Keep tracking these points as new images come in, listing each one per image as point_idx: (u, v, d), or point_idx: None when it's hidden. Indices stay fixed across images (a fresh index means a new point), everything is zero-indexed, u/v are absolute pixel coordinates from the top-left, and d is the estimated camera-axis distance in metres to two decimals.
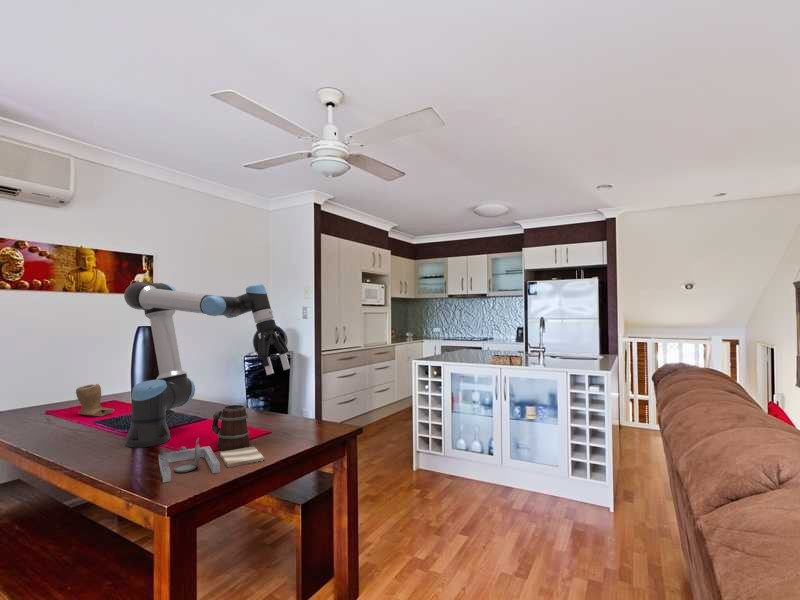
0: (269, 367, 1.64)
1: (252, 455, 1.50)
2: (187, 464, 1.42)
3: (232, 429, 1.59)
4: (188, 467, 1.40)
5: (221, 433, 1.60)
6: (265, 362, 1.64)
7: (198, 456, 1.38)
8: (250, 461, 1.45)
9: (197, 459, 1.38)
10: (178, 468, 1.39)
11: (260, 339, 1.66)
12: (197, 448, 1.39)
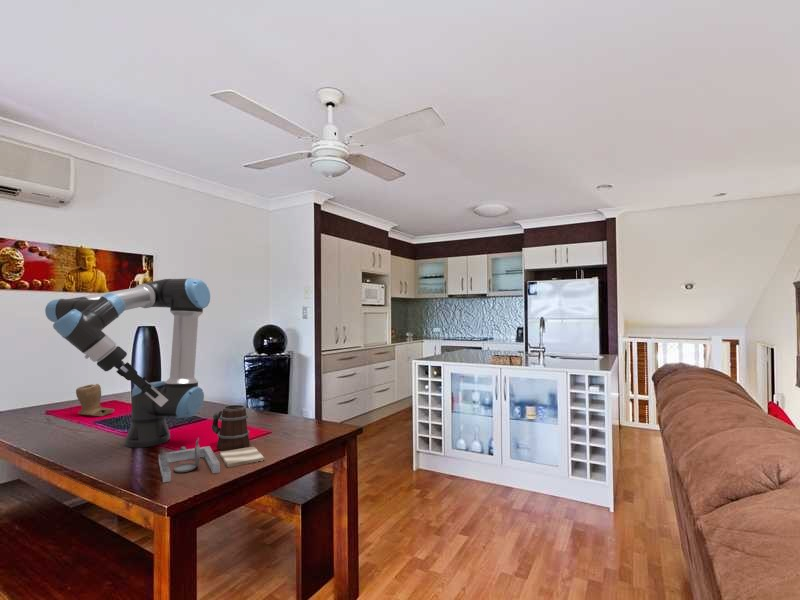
0: None
1: (252, 455, 1.50)
2: (187, 464, 1.42)
3: (233, 429, 1.59)
4: (188, 467, 1.40)
5: (221, 433, 1.60)
6: None
7: (198, 456, 1.38)
8: (250, 461, 1.45)
9: (197, 459, 1.38)
10: (178, 468, 1.39)
11: None
12: (197, 448, 1.39)
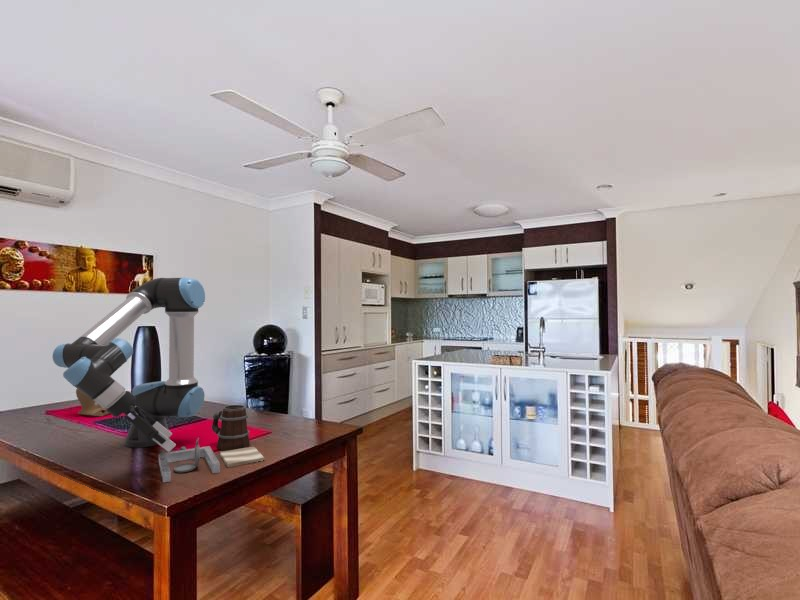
0: None
1: (252, 455, 1.50)
2: (187, 464, 1.42)
3: (233, 429, 1.59)
4: (188, 467, 1.40)
5: (221, 433, 1.60)
6: None
7: (198, 456, 1.38)
8: (250, 461, 1.45)
9: (197, 459, 1.38)
10: (178, 468, 1.39)
11: None
12: (197, 448, 1.39)
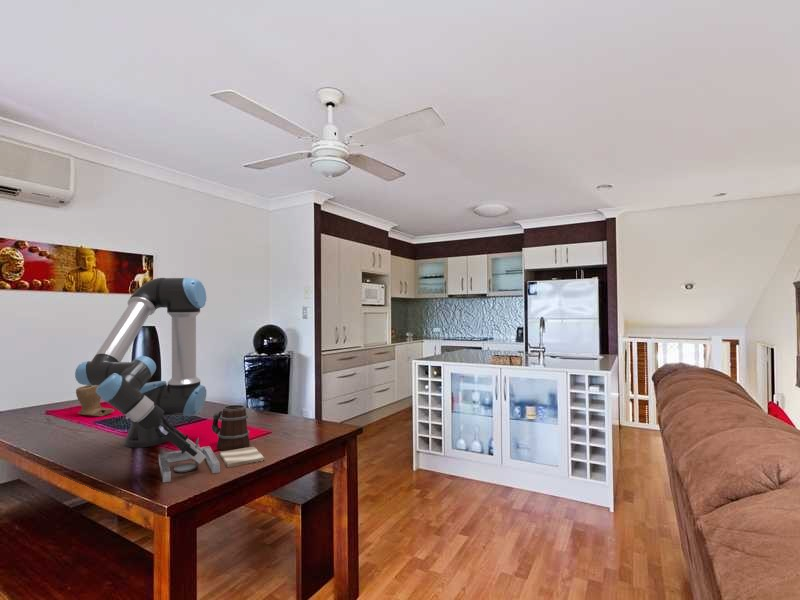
0: None
1: (252, 455, 1.50)
2: (187, 464, 1.42)
3: (233, 429, 1.59)
4: (188, 467, 1.40)
5: (221, 433, 1.60)
6: None
7: None
8: (250, 461, 1.45)
9: None
10: (178, 468, 1.39)
11: None
12: (197, 448, 1.39)
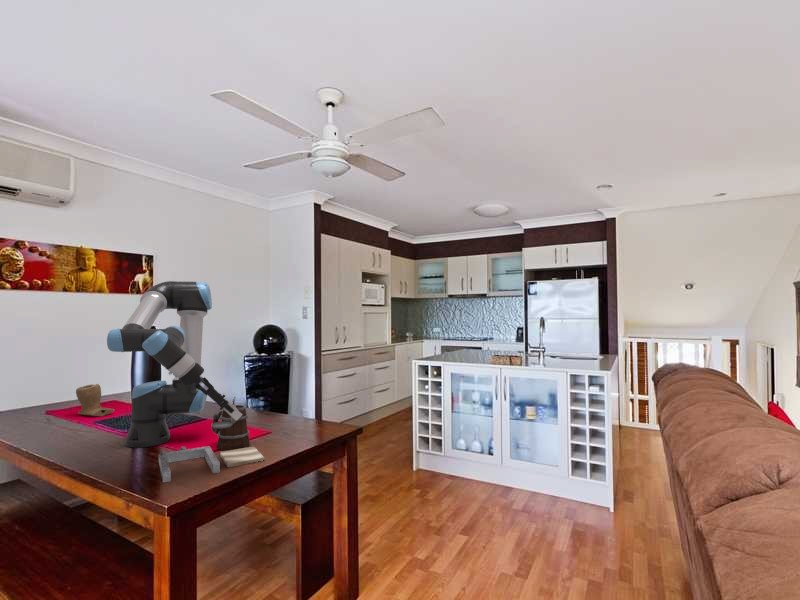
0: None
1: (252, 455, 1.50)
2: (223, 422, 1.47)
3: (233, 429, 1.59)
4: (224, 425, 1.46)
5: (221, 433, 1.60)
6: None
7: None
8: (250, 461, 1.45)
9: None
10: (215, 425, 1.45)
11: None
12: (234, 406, 1.45)
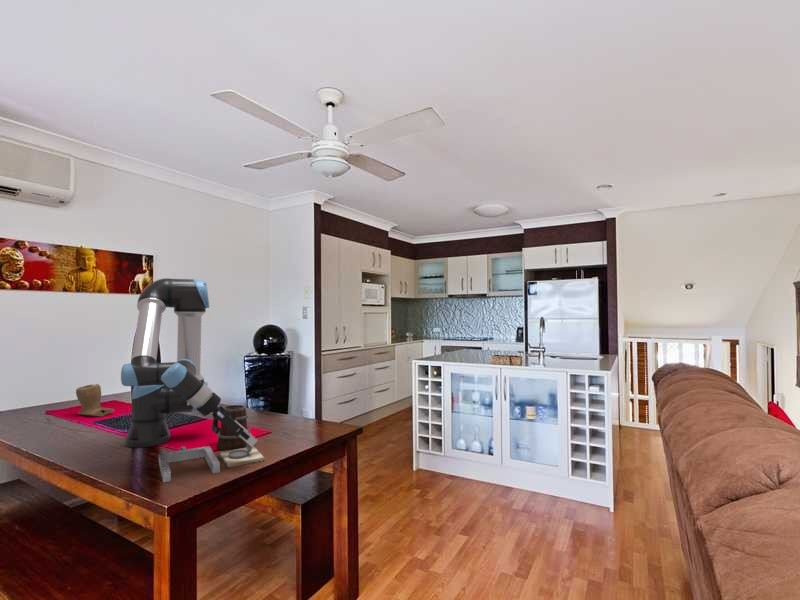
0: None
1: (252, 455, 1.50)
2: (239, 451, 1.52)
3: None
4: (241, 453, 1.50)
5: (221, 433, 1.60)
6: None
7: None
8: (250, 461, 1.45)
9: (250, 446, 1.48)
10: (232, 454, 1.49)
11: None
12: None
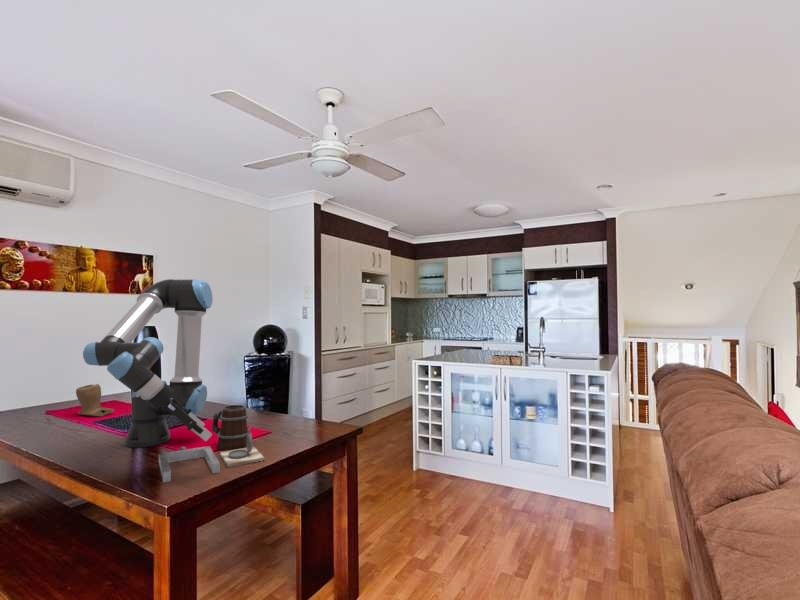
0: None
1: (252, 455, 1.50)
2: (239, 451, 1.52)
3: (233, 429, 1.59)
4: (241, 453, 1.50)
5: (221, 433, 1.60)
6: None
7: (251, 443, 1.48)
8: (250, 461, 1.45)
9: (250, 446, 1.48)
10: (232, 454, 1.49)
11: None
12: (250, 436, 1.49)
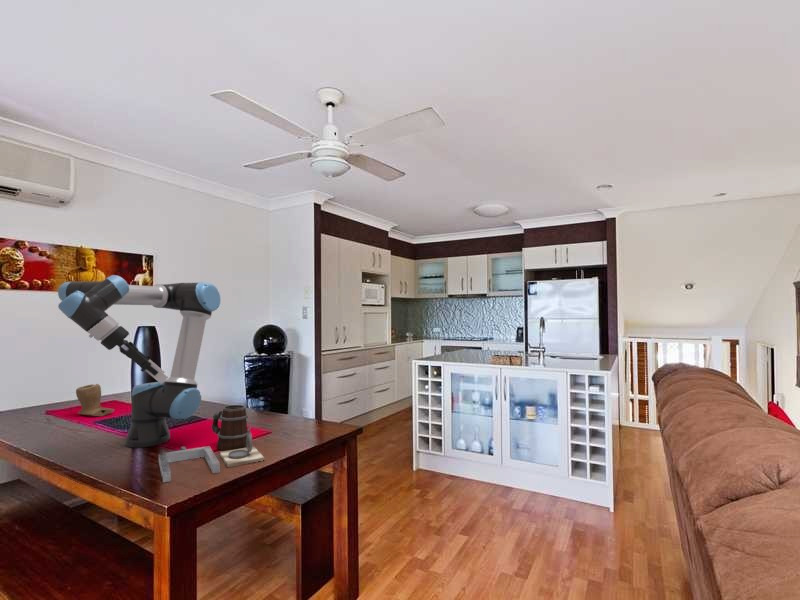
0: None
1: (252, 455, 1.50)
2: (239, 451, 1.52)
3: (233, 429, 1.59)
4: (241, 453, 1.50)
5: (221, 433, 1.60)
6: None
7: (251, 443, 1.48)
8: (250, 461, 1.45)
9: (250, 446, 1.48)
10: (232, 454, 1.49)
11: None
12: (249, 436, 1.49)
